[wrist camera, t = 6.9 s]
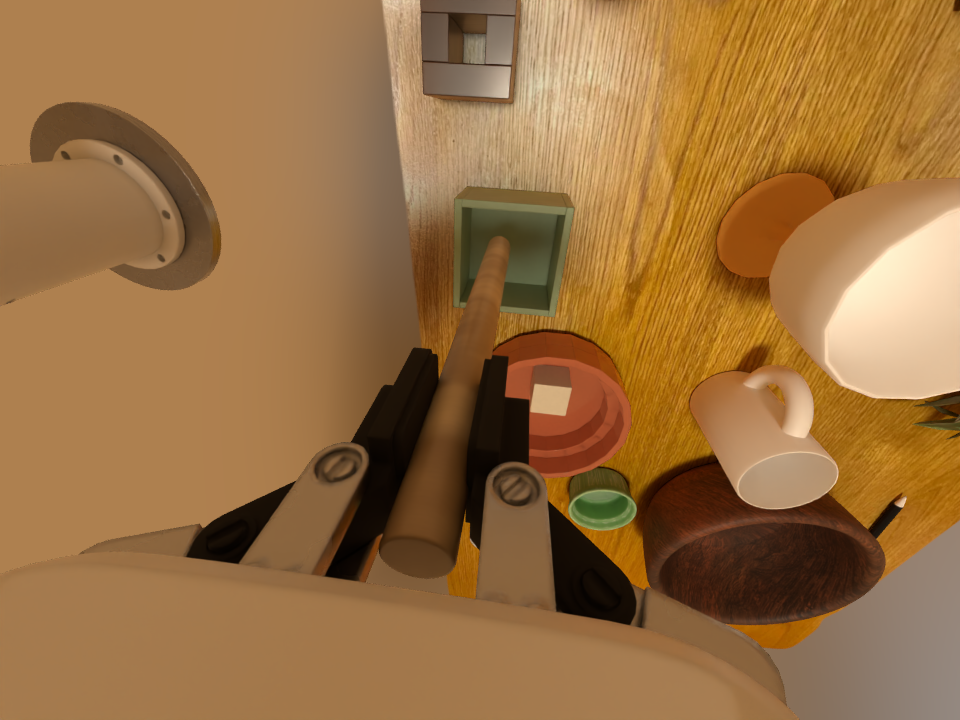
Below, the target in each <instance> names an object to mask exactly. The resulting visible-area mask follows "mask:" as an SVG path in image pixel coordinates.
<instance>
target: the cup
mask: <svg viewBox="0 0 960 720" xmlns="http://www.w3.org/2000/svg"><path fill="white" fill-rule="evenodd" d="M716 244H717V250H718V257H719V259H720V260H721V261H722V263H723V264H724V265H725V266H726V268H727V269H728V270H729V271H731V272H733V273H736V274H738V275H740V276H743V277H745V278H753V277H768V276H770V278H769V286H770V298H771V304H772V307H773V309H774V311H775V313H776V315H777V317H778V319H779V320H780V321H781V322H782V324H783V325H784V326H785V327H786V329H787V330H788V331H789V333H790V334H791V335H792V336H793V337H794V339H795V340H796V341H797V342H798V343H799V345H800V346H801V347H802V348H803V349H804V350H805V352H806V353H807V354H808V355H809V356H810V357H811V359H812V360H813V361H814V362H815V363H816V364H817V365H818V366H819V367H820V368H822V369H823V370H824V371H825V372H826V373H827V374H828V375H829V376H830V377H831V378H832V379H833V380H834V381H835V382H836V383H837V384H839V385H840V386H843V387H845V388H848V389H851V390H853V391H856V392H858V393H861V394H863V395H866V396H869V397H871V398H891V399H922V398H927V397H932V396H937V395H941V394H946V393H951V392H956V391H960V178H937V179H913V180H901V181H895V182H889V183H883V184H877V185H874V186H872V187H869V188H866V189H864V190H861V191H858V192H856V193H853V194H850V195H848V196H845V197H842V198H839V199H837V200H836V201H834V196H833V194H832V193H831V191H830V189H829V188H828V186H827V185H826V183H825V181H823V180H821V179H819V178H816V177H814V176H812V175H810V174H807V173H785V174H779V175H777V176H774V177H772V178H769V179H767V180H764V181H762V182H760V183H757V184H756V185H754V186H753V187H752V188H751V189H749V190H748V191H747V192H746V193H744V194H743V195H742V196H741V197H739V198H738V199H737V200H736V201H735V202H734V204H733V205H732V206H731V208H730V209H729V211H728V212H727V214H726V215H725V216H724V218H723V219H722V221H721V225H720V228H719V232H718V235H717V239H716Z"/></svg>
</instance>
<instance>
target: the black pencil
mask: <svg viewBox="0 0 960 720" xmlns="http://www.w3.org/2000/svg"><path fill="white" fill-rule="evenodd" d="M906 498H907V496H904V497H902V498H900V499H899V500H897V501H895V502H894V503H893V504H892V506H891V507H890V508H889V509H888V510H887V512H886V513H885V514H884V515H883V516H882V518H881V519H880V520H879V521H878V522H877V524H876V525H875V526H874V527H873V529H872V530H871V531H870V533H871V534H872V535H873V536H874V537H875V539H877V537H878V536H879V535H880V534H881V533H882V532H883V530H884V529H885V528H886V527H887V526H888V525H889V523H890V522H891V521H892V520H893V519H894V518H895V516H896V515H897V514H898V513H899V512H900V511H901V509H902V508H903V507H904V504H905V501H906Z"/></svg>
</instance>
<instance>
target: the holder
mask: <svg viewBox="0 0 960 720" xmlns="http://www.w3.org/2000/svg"><path fill="white" fill-rule="evenodd" d="M420 6H421V41H422V61H423V62H422V73H423V94H424V95H427V96H431V97H435V98H438V99H444V100H461V101H478V102H495V103H513V97H514V85H515V73H516V61H517V49H518V37H519V36H518V35H519V25H520V13H521V0H420ZM463 33H478V34H486V47H485V64H467V63H463Z"/></svg>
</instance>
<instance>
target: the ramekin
mask: <svg viewBox="0 0 960 720" xmlns="http://www.w3.org/2000/svg"><path fill="white" fill-rule="evenodd" d="M568 511H569V515H570V517H571V518H572V519H573V521H575V522H576V523H577V524H579V525H581V526H583V527H586V528H589V529H593V530H612V529H616V528H620V527H622V526H624V525H626V524H628V523H629V522H630V521H632V520H633V518H634V517H635V515H636V512H637V507H636V503H635V501H634V500H633V498H632V497H631V494H630V491H629V489H628V486H627V483H626V481H625V479H624V478H623V477H622V476H621V475H620V474H619V473H617V472H615V471H613V470H610V469H606V468H594V469H592V470H590V471H587V472H583V473H580V474H577V475H575V476H574V477H573V479H572V480H571V483H570V502H569V507H568Z"/></svg>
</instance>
